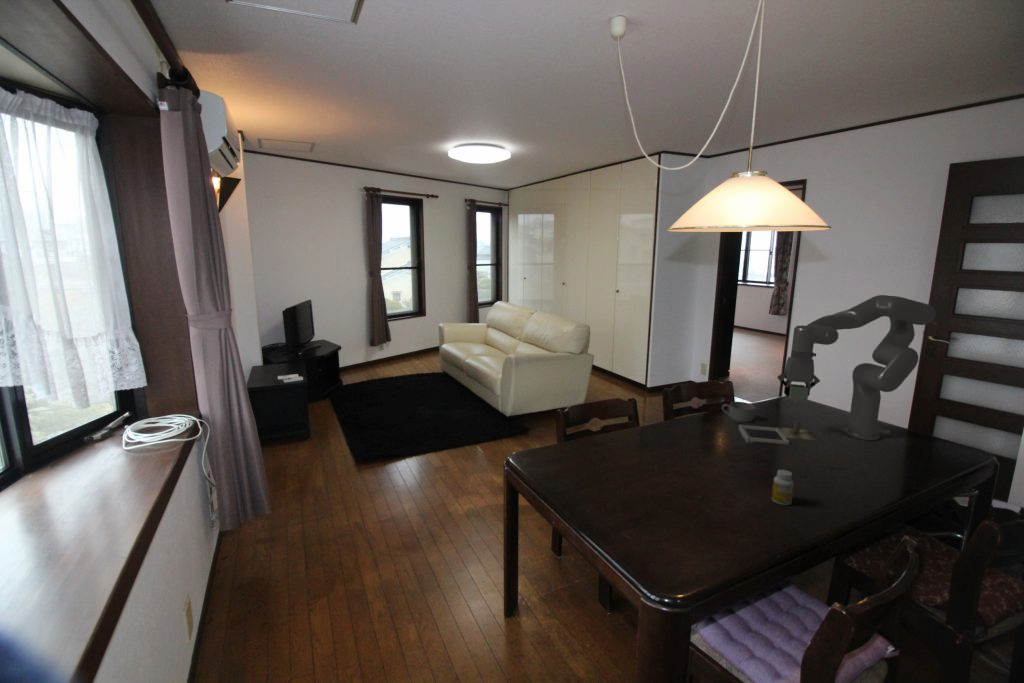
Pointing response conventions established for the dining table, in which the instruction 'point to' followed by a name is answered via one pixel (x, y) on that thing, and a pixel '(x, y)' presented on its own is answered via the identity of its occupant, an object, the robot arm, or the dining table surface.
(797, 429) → the wooden peg base
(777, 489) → the supplement bottle
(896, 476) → the dining table surface
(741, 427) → the tray
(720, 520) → the dining table surface
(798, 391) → the green hollow square block
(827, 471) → the dining table surface
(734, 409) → the teacup
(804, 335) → the robot arm
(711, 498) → the dining table surface
